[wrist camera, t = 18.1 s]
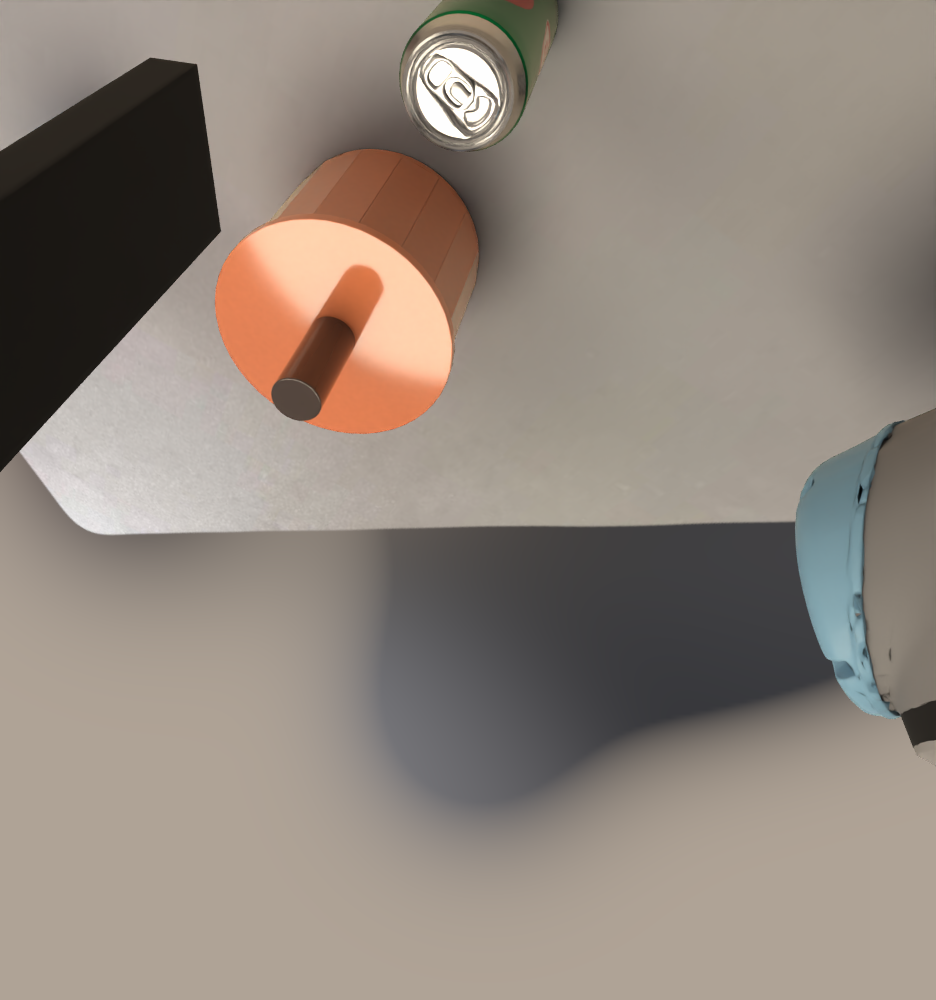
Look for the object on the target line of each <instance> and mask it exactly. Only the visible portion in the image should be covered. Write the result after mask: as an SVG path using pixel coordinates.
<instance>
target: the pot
mask: <svg viewBox="0 0 936 1000" xmlns="http://www.w3.org/2000/svg"><path fill="white" fill-rule="evenodd" d="M313 213H314V214H325V215H333V216H338V217H342V218H347V219H350V220H353V221H356V222H358V223H361V224H364V225H366V226H368V227H370V228H373V229H375V230H377V231H379V232H381V233H382V234H384V235H385V236H387V237H389V238H390V239H392V240H393V241H395V242H396V243H398V244H399V245H400V246H401V247H403V248H404V249H405V250H406V251H408V252H409V253H410V254H411V255H412V256H413V257H414V258H415V259H416V260H417V261H418V262H419V263H420V264H421V265H422V266H423V267H424V269H425V270H426V271H427V273H428V274H429V275H430V276H431V278H432V279H433V281H434V282H435V284H436V285H437V287H438V289H439V290H440V292H441V294H442V296H443V298H444V300H445V303H446V305H447V307H448V310H449V313H450V317H451V320H452V324H453V330H454V337H456V334H457V331H458V329H459V326H460V323H461V321H462V318H463V315H464V313H465V310H466V308H467V305H468V302H469V300H470V297H471V294H472V292H473V289H474V286H475V283H476V275H477V270H478V264H479V246H478V238H477V234H476V230H475V226H474V223H473V221H472V218H471V216H470V213H469V212H468V210H467V208H466V206H465V204H464V203H463V201H462V200H461V198H460V197H459V195H458V194H457V193H456V191H455V190H454V189H453V188H452V187H451V186H450V185H449V184H448V182H447V181H446V180H445V179H443V178H442V177H441V176H440V175H439V174H438V173H436V172H435V171H434V170H432V169H431V168H429V167H428V166H426V165H425V164H423V163H421V162H419V161H417V160H415V159H413V158H411V157H408V156H406V155H403V154H400V153H397V152H392V151H388V150H380V149H360V150H354V151H349V152H345V153H342V154H340V155H337V156H335V157H333V158H331V159H329V160H326V161H325V162H323V163H322V164H321V165H320V166H319V167H318V168H316V169H315V170H314V171H313V172H312V174H311V175H310V176H308V177H307V178H306V179H305V180H304V181H303V182H302V183H301V184H300V185H299V186H298V187H297V189H296V190H295V191H294V192H293V193H292V195H291V196H290V197H289V198H288V199H287V201H286V202H285V203H284V204H283V205H282V207H281V208H280V209H279V210H278V211H277V212H276V214H275V215H274V216H273V217H272V218H271V220H270V221H272V220H275V219H278V218H281V217H285V216H290V215H296V214H313Z"/></svg>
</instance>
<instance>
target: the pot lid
mask: <svg viewBox="0 0 936 1000" xmlns="http://www.w3.org/2000/svg"><path fill="white" fill-rule="evenodd" d="M215 308H216V318H217V322H218V327H219V331H220V334H221V336H222V339H223V342H224V344H225V346H226V348H227V350H228V352H229V354H230V356H231V358H232V360H233V361H234V363H235V364H236V366H237V367H238V369H239V370H240V371H241V373H242V374H243V375H244V376H245V378H246V379H247V380H248V381H249V382H250V383H251V384H252V385H253V386H254V387H255V388H256V389H257V390H258V392H260V393H261V394H262V395H263V396H264V397H266V398H267V399H268V400H269V401H270V402H272V403H273V404H274V405H275V406H276V407H277V409H278V410H279V411H280V412H281V413H283V414H284V415H285V416H287V417H289V418H291V419H294V420H299V421H305V422H307V423H309V424H312V425H315V426H318V427H321V428H324V429H329V430H333V431H337V432H345V433H359V434H367V433H377V432H383V431H387V430H392V429H395V428H397V427H400V426H403V425H405V424H407V423H409V422H411V421H413V420H415V419H416V418H418V417H419V416H420V415H422V414H423V413H424V412H426V411H427V410H428V409H429V408H430V407H431V406H432V405H433V404H434V402H435V401H436V400H437V398H438V397H439V396H440V394H441V393H442V391H443V389H444V387H445V385H446V383H447V380H448V378H449V374H450V371H451V368H452V365H453V359H454V352H455V337H454V330H453V324H452V320H451V317H450V313H449V310H448V307H447V305H446V303H445V300H444V298H443V296H442V294H441V292H440V290H439V289H438V287H437V285H436V284H435V282H434V281H433V279H432V278H431V276H430V275H429V274H428V273H427V271H426V270H425V269H424V267H423V266H422V265H421V264H420V263H419V262H418V261H417V260H416V259H415V258H414V257H413V256H412V255H411V254H410V253H409V252H408V251H406V250H405V249H404V248H403V247H401V246H400V245H399V244H398V243H396V242H395V241H393V240H392V239H390V238H389V237H387V236H385V235H384V234H382V233H381V232H379V231H377V230H375V229H373V228H370V227H368V226H366V225H364V224H361V223H358V222H356V221H353V220H350V219H347V218H342V217H338V216H333V215H325V214H314V213H313V214H296V215H290V216H285V217H281V218H278V219H275V220H272V221H269V222H267V223H265V224H263V225H261V226H259V227H257V228H256V229H254V230H253V231H252V232H250V233H249V234H248V235H246V236H245V237H244V238H243V239H242V240H241V241H240V242H239V244H238V245H237V246H236V247H235V248H234V249H233V250H232V251H231V253H230V254H229V256H228V258H227V259H226V261H225V262H224V264H223V267H222V269H221V272H220V274H219V277H218V282H217V286H216V295H215Z"/></svg>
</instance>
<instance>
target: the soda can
mask: <svg viewBox="0 0 936 1000" xmlns="http://www.w3.org/2000/svg"><path fill="white" fill-rule="evenodd" d="M557 25H558V5H557V0H442V1H441V3H440V4H439V5H438V6H437V7H436V8H435V9H434V10H433V12H432V13H431V14H430V15H429V16H428V17H427V18H426V20H425V21H424V22H423V23H422V24H421V25H420V26H419V28H418V29H417V30H416V31H415V32H414V33H413V35H412V36H411V38H410V39H409V41H408V43H407V45H406V47H405V49H404V52H403V55H402V59H401V63H400V72H399V82H400V90H401V95H402V99H403V102H404V105H405V108H406V110H407V113H408V115H409V117H410V119H411V121H412V123H413V124H414V125H415V127H416V128H417V130H418V131H419V132H420V133H421V134H422V135H423V136H424V137H425V138H427V139H428V140H429V141H430V142H432V143H434V144H435V145H437V146H439V147H442V148H444V149H447V150H451V151H459V152H464V151H465V152H470V151H479V150H483V149H487V148H489V147H491V146H493V145H495V144H497V143H499V142H500V141H502V140H503V139H504V138H505V137H506V136H507V135H509V134H510V133H511V131H512V130H513V129H514V128H515V126H516V125H517V124H518V122H519V120H520V118H521V116H522V114H523V112H524V109H525V107H526V105H527V102H528V100H529V97H530V95H531V93H532V90H533V88H534V86H535V83H536V81H537V78H538V76H539V74H540V71H541V69H542V66H543V64H544V62H545V59H546V57H547V54H548V52H549V50H550V47H551V45H552V42H553V40H554V37H555V34H556V30H557Z"/></svg>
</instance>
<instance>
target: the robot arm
mask: <svg viewBox="0 0 936 1000" xmlns="http://www.w3.org/2000/svg"><path fill="white" fill-rule="evenodd" d="M220 232H221V229H220V222H219V215H218V208H217V201H216V194H215V187H214V180H213V173H212V166H211V159H210V152H209V145H208V138H207V131H206V124H205V117H204V110H203V103H202V96H201V89H200V82H199V75H198V68H197V64H191V63H184V62H177V61H170V60H163V59H156V58H149V59H148V60H146V61H144V62H143V63H141V64H140V65H138V66H136V67H135V68H133V69H131V70H130V71H128V72H127V73H125V74H123V75H122V76H120V77H119V78H117V79H115V80H114V81H112V82H111V83H109V84H107V85H106V86H104V87H103V88H101V89H99V90H98V91H96V92H95V93H93V94H91V95H90V96H88V97H87V98H85V99H83V100H82V101H80V102H79V103H77V104H75V105H74V106H72V107H71V108H69V109H67V110H66V111H64V112H63V113H61V114H59V115H58V116H56V117H55V118H53V119H51V120H50V121H48V122H46V123H45V124H43V125H42V126H40V127H38V128H37V129H35V130H34V131H32V132H30V133H29V134H27V135H26V136H24V137H22V138H21V139H19V140H18V141H16V142H14V143H13V144H11V145H10V146H8V147H6V148H5V149H3V150H2V151H0V472H1V471H2V470H3V468H4V467H5V466H6V465H7V464H8V463H9V462H10V461H11V460H12V458H13V457H14V456H15V455H16V454H17V453H18V452H19V451H20V450H21V449H22V448H23V447H24V446H25V444H26V443H27V442H28V441H29V440H30V439H31V438H32V437H33V436H34V435H35V434H36V432H37V431H38V430H39V429H40V428H41V427H42V426H43V425H44V424H45V423H46V422H47V420H48V419H49V418H50V417H51V416H52V415H53V414H54V413H55V412H56V411H57V410H58V408H59V407H60V406H61V405H62V404H63V403H64V402H65V401H66V400H67V399H68V398H69V396H70V395H71V394H72V393H73V392H74V391H75V390H76V389H77V388H78V387H79V386H80V384H81V383H82V382H83V381H84V380H85V379H86V378H87V377H88V376H89V375H90V374H91V373H92V371H93V370H94V369H95V368H96V367H97V366H98V365H99V364H100V363H101V362H102V361H103V359H104V358H105V357H106V356H107V355H108V354H109V353H110V352H111V351H112V350H113V349H114V347H115V346H116V345H117V344H118V343H119V342H120V341H121V340H122V339H123V338H124V337H125V335H126V334H127V333H128V332H129V331H130V330H131V329H132V328H133V327H134V326H135V325H136V323H137V322H138V321H139V320H140V319H141V318H142V317H143V316H144V315H145V314H146V313H147V311H148V310H149V309H150V308H151V307H152V306H153V305H154V304H155V303H156V302H157V301H158V299H159V298H160V297H161V296H162V295H163V294H164V293H165V292H166V291H167V290H168V289H169V287H170V286H171V285H172V284H173V283H174V282H175V281H176V280H177V279H178V278H179V277H180V276H181V274H182V273H183V272H184V271H185V270H186V269H187V268H188V267H189V266H190V265H191V264H192V262H193V261H194V260H195V259H196V258H197V257H198V256H199V255H200V254H201V253H202V252H203V250H204V249H205V248H206V247H207V246H208V245H209V244H210V243H211V242H212V241H213V240H214V238H215V237H216V236H217V235H218V234H219V233H220ZM795 537H796V552H797V561H798V568H799V574H800V579H801V584H802V588H803V593H804V597H805V600H806V605H807V608H808V612H809V615H810V618H811V622H812V625H813V628H814V631H815V633H816V636H817V639H818V642H819V644H820V647H821V649H822V651H823V653H824V655H825V657H826V658H827V659H829V660H832V662H833V666H834V671H835V675H836V679H837V681H838V682H839V684H840V686H841V687H842V689H843V690H844V692H845V693H846V695H847V696H848V697H849V698H850V700H851V701H852V702H853V703H854V704H856V705H857V706H858V707H859V708H860V709H861V710H862V711H864V712H866V713H868V714H871V715H875V716H883V717H886V718H888V719H896V718H899V717H902V720H903V722H904V725H905V728H906V730H907V732H908V735H909V738H910V740H911V743H912V745H913V748H914V750H915V752H916V754H917V756H919V757H921V758H922V759H924V760H926V761H928V762H930V763H931V764H933V765H935V766H936V408H935V409H933V410H931V411H928V412H926V413H923V414H921V415H919V416H916V417H914V418H912V419H909V420H907V421H904V420H902V421H899V422H894V423H892V424H889V425H887V426H886V427H884V428H883V429H882V430H881V431H880V432H879V433H878V434H877V435H876V436H874V437H872V438H870V439H868V440H866V441H864V442H862V443H861V444H859V445H857V446H855V447H853V448H851V449H849V450H847V451H844V452H842V453H840V454H838V455H836V456H834V457H832V458H830V459H829V460H827V461H825V462H824V463H822V464H821V465H820V466H819V467H817V468H816V469H815V470H814V471H813V472H812V474H811V475H810V476H809V478H808V479H807V481H806V483H805V486H804V488H803V490H802V492H801V496H800V502H799V504H798V508H797V512H796V525H795Z"/></svg>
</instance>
